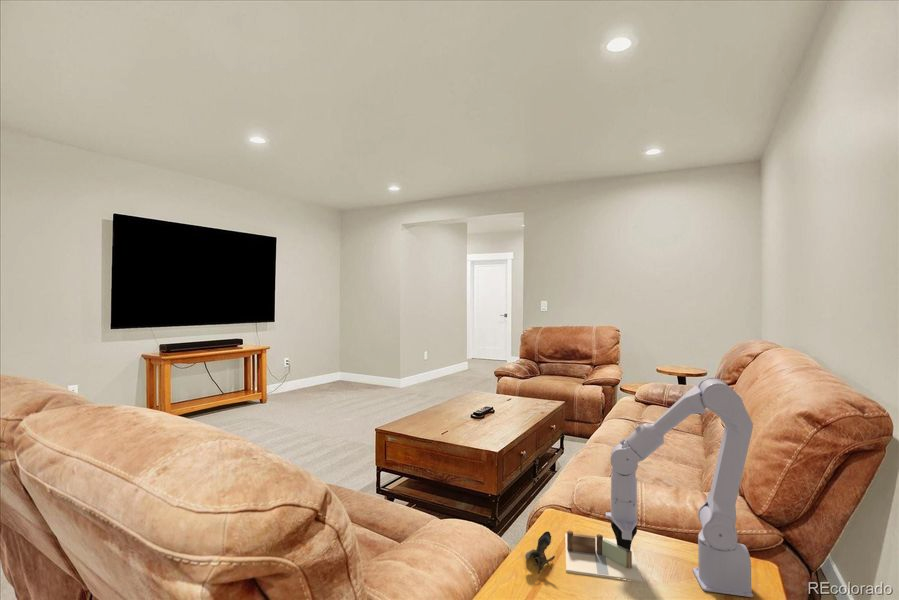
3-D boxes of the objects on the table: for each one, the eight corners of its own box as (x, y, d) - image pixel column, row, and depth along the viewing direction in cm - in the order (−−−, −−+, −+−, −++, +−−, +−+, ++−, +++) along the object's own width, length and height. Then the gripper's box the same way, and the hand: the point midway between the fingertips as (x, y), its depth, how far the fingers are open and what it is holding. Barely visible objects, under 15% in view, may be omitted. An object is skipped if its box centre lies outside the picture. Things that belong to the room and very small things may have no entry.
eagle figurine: (564, 570, 100) (558, 542, 108) (547, 546, 99) (542, 519, 108) (535, 585, 101) (531, 556, 110) (518, 561, 100) (515, 533, 109)
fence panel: (601, 555, 106) (601, 540, 106) (604, 553, 107) (604, 538, 107) (630, 569, 101) (629, 553, 101) (632, 567, 101) (632, 551, 101)
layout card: (629, 543, 113) (629, 540, 113) (641, 582, 97) (641, 580, 97) (565, 535, 117) (565, 533, 117) (566, 572, 101) (566, 569, 101)
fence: (602, 552, 108) (602, 534, 108) (603, 555, 107) (603, 537, 107) (567, 548, 110) (567, 530, 110) (567, 551, 109) (567, 533, 109)
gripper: (604, 483, 113) (603, 537, 113) (607, 508, 99) (607, 569, 99) (634, 486, 111) (633, 541, 111) (642, 512, 97) (642, 575, 97)
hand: (623, 555), depth 104 cm, fingers closed, pressing on fence panel
